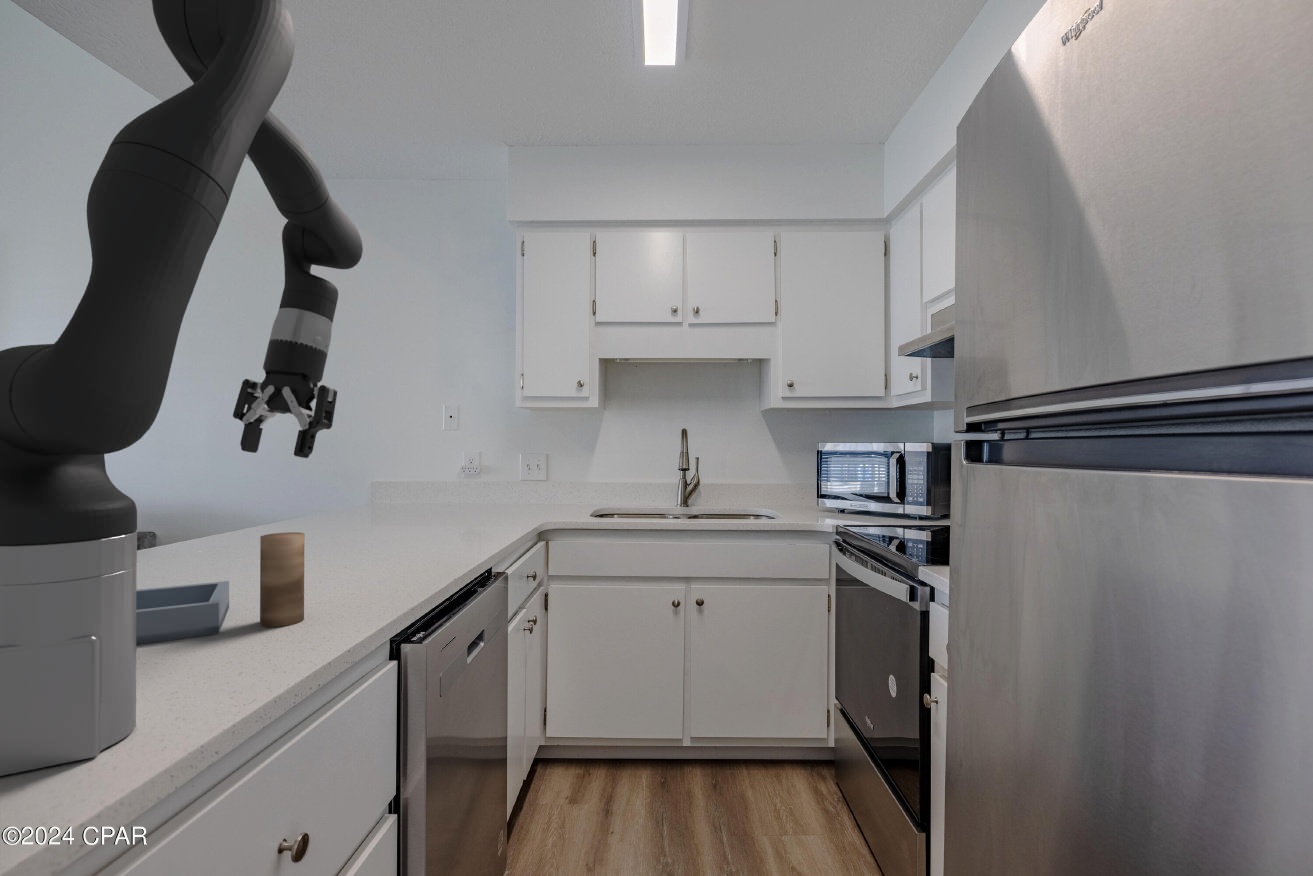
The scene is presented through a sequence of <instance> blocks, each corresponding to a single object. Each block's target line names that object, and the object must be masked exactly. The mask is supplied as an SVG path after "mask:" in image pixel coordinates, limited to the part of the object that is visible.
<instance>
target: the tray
mask: <svg viewBox="0 0 1313 876" xmlns="http://www.w3.org/2000/svg"><path fill="white" fill-rule="evenodd" d="M229 609H230V580H223V581H214V582H204V583H193V584H184V585H183V584H182V585H172V586H162V587H150V588H142V589H136V646H137V645H143V644H144V645H145V644H151V643H158V642H165V641H167V642H168V641H173V640H174V641H175V640H180V639H181V640H182V639H189V638H190V639H191V638H196V637H197V638H198V637H203V636H211V635H219V634H220V631H221V629H222V626H223V624H224V621H225V619H226V616H227V614H228V612H229Z"/></svg>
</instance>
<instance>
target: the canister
mask: <svg viewBox="0 0 1313 876" xmlns="http://www.w3.org/2000/svg"><path fill="white" fill-rule="evenodd" d="M259 541H260V545H259V546H260V547H259V549H260V554H259V555H260V556H259V557H260V559H259V565H260V568H259V569H260V570H259V573H260V574H259V577H260V578H259V626H260V627H263V628H282V627H287V626H289V627H290V626H292V625H297V624H299V623H302V622H303V621H305V533H304V532H298V531H297V532H295V531H293V532H291V531H290V532H276V533H268V534H263V535H260V540H259Z"/></svg>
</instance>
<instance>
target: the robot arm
mask: <svg viewBox="0 0 1313 876" xmlns="http://www.w3.org/2000/svg"><path fill="white" fill-rule="evenodd" d="M151 5H152V12H153V13H152V14H153V16H154V19H155V23H156V26H157V28H158V30H159V33H160V35H161V37H162V39H163V41H164V43H165V44H166V46H167V48H168V49H169V51H170V52H171V55H172V56H173V57H174V59H175V60H176V61H177V63H178V64H179V66H180V68H181V69H182V70H183V71H184V72H185V73H186V75H187V77H189V79H190V81H192V83H193V84H191V85H190V86H189V87H186V88H185V89H183V90H182V91H179V92H178V93H176V94H174V95H173V96H171V97H169V98H167V99H165V100H164V101H162V102H160V103H159V104H157V105H155V106H153V107H152V108H149V109H148V110H145V111H144V112H143V113H140V114H139V115H138V116H136V117H135V118H133V119H132V120H131V121H130V122H128V123H127V124H126V125H125V126H124V127H122V128H121V129H120V130H119V131H118V133H117V134H116V135H115V136H114V138H113V140H112V141H111V143H110V145H109V147H108V149H107V151H106V153H105V154H104V158H103V160H102V161H101V163H100V166H99V167H98V170H97V171H96V174H95V176H93V180H92V183H91V185H90V187H89V191H88V195H87V196H88V197H87V202H86V222H87V230H88V231H87V232H88V235H89V244H90V249H91V258H92V259H91V270H90V275H89V280H88V282H87V285H86V288H85V290H84V293H83V295H82V297H81V299H80V301H79V302H78V304H77V307H76V309H75V310H74V313H73V314H72V317H71V318H70V320H69V322H68V323H67V325H66V327H65V328H64V330H63V331H62V333H61V335H60V336H59V337H58V339H57V340H56V341H55V342H54V343H44V344H43V343H42V344H29V345H27V344H26V345H20V346H19V345H18V346H12V347H9V348H5V349H2V350H0V777H1V776H6V775H10V774H16V773H21V772H26V771H32V770H36V769H41V768H45V767H50V766H51V767H52V766H56V765H61V764H62V765H63V764H67V763H71V762H77V761H81V760H85V759H90V758H95V757H97V756H98V755H99V754H100V752H101V751H103V750H104V749H106V748H108V747H110V746H112V745H115V744H116V743H118V742H120V741H121V740H123V739H124V738H126V737H127V736H129V735H130V734H131V733H132V732H133V731H134V729H135V728H136V726H137V645H136V590H138V589H137V568H138V567H137V566H138V565H137V564H138V508H137V504H136V502H135V501H134V500H133V499H132V498H131V497H129V496H128V495H127V494H125V493H124V492H122V491H121V490H120V489H119V488H117V486H115V484H113V481H112V480H111V479H110V477H109V476H108V473H107V468H106V459H105V455H107V454H112V453H116V452H120V451H123V450H125V449H127V448H129V447H131V446H132V445H134V444H136V443H137V442H138V441H140V440H141V439H142V438H143V437H144V436H145V434H146V433H148V431H149V430H150V429H151V427H152V426H153V424H154V422H155V421H156V418H157V416H158V414H159V412H160V410H161V406H162V403H163V400H164V398H165V393H166V389H167V385H168V380H169V377H170V373H171V368H172V364H173V359H174V355H175V351H176V346H177V342H178V339H179V335H180V331H181V327H182V323H183V320H184V316H185V315H186V311H187V309H188V305H189V303H190V300H191V298H192V296H193V292H194V290H195V287H196V284H197V282H198V279H199V277H200V273H201V272H202V268H203V266H204V264H205V263H204V262H205V260H206V257H207V254H208V252H209V250H210V247H211V246H212V244H213V241H214V239H215V237H216V236H217V232H218V230H219V227H220V225H221V222H222V220H223V217H224V215H225V212H226V209H227V207H228V204H229V201H230V199H231V195H232V192H233V189H234V187H235V183H236V181H237V178H238V176H239V173H240V171H241V168H242V165H243V163H244V161H245V158H246V156H247V157H248V158H249V160H250V161H251V163H252V164H253V165H254V167H255V169H256V171H257V172H258V174H259V176H260V178H261V180H262V183H263V184H264V186H265V188H266V189H267V192H268V193H269V195H270V197H271V198H272V201H273V202H274V205H275V207H276V208H277V210H278V211H279V213H280V214H281V216H282V217H284V219H286V220H287V221H286V223H284V226H283V228H282V231H281V242H282V243H281V244H282V253H283V263H284V266H283V267H284V287H283V291H282V294H281V299H280V303H279V307H278V310H277V314H276V317H275V318H274V321H273V324H272V328H271V332H270V337H269V340H268V344H267V347H266V353H265V358H264V361H263V365H262V369H263V372H264V373H265V377H264V379H263V380H262V382H260V381H259V382H258V381H255V380H252V379H248V378H245V379H243V380H242V383H241V385H240V386H241V387H240V389H239V393H238V395H237V399H236V404H235V406H234V410H233V413H232V417H233V419H235V420H239V421H241V422H242V423H243V430H242V435H241V439H240V443H239V444H240V449H241V451H242V452H247V453H253V454H254V453H257V452H258V451H259V447H260V443H261V438H262V434H263V429H264V428H262V427H263V426H264V424H266V422H267V421H268V420H269V419H271V418H274V417H276V416H277V414H281V415H285V414H291V415H293V416H294V417H295V419H297V421H298V424H299V426H300V428H301V429H298V432H297V438H296V442H295V446H294V449H293V450H294V451H293V455H294V457H298V458H302V459H308V458H309V457H310V455H312V453H313V452H314V446H315V443H316V438H317V434H318V433H319V432H320V431H323V430H330V429H332V427H333V422H334V416H335V410H336V403H337V398H338V391H337V390H336V389H335V388H332V387H330V386H327V385H324V384H321V385H319V384H318V383H321V381H322V380H323V377H324V372H325V368H326V364H327V363H326V362H327V358H328V354H329V350H330V349H329V348H330V345H331V340H332V332H333V331H332V329H333V323H334V319H335V314H336V310H337V304H338V300H339V290H338V287H337V286H336V285H335V284H333V283H332V281H329V280H327V279H326V278H323V277H320V276H317V275H315V274H312V273H311V270H312V269H311V268H312V265H313V266H319V267H324V268H329V269H335V270H336V269H337V270H350V269H352V268H354V267H356V266H357V265H358V264H359V262H360V261H361V259H362V256H363V251H364V250H363V249H364V246H363V240H362V238H361V235H360V233H359V231H358V229H357V227H356V225H355V224H354V222H353V221H352V220H351V218H350V217H349V215H348V214H346V212H345V211H344V210H343V209H342V207H341V206H340V205H339V203H338V202H337V201H336V200H335V199H334V197H332V196H331V194H330V192H329V189H328V187H327V184H326V182H325V179H324V176H323V175H322V173H321V169H320V167H319V166H318V165H319V164H317V162H316V159H315V158H314V156H313V155H312V154H311V152H310V150H309V149H308V147H306V145H305V144H304V143H303V142H302V141H301V140H300V139H299V138H298V136H296V135H295V133H293V132H292V131H291V130H290V128H288V127H287V126H286V125H285V124H284V123H283V122H282V121H281V120H280V119H279V118H278V117H277V116H276V115H275V114H273V112H272V111H271V110H270V109H271V107H272V106H273V104H274V102H275V100H276V99H277V97H278V95H279V94H280V92H281V90H282V88H283V87H284V84H285V83H286V80H287V78H288V75H289V73H290V70H291V67H292V64H293V59H294V56H295V55H294V54H295V45H296V41H295V40H296V39H295V38H296V37H295V29H294V23H293V20H292V17H291V13H290V12H289V10H288V8H287V6H286V5H285V3H284V2H283V0H151ZM318 385H319V386H318ZM314 400H316V401H315V404H314V405H315V407H314V405H313V402H314Z"/></svg>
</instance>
